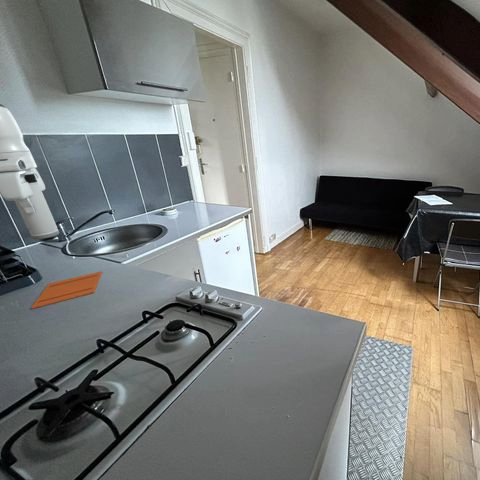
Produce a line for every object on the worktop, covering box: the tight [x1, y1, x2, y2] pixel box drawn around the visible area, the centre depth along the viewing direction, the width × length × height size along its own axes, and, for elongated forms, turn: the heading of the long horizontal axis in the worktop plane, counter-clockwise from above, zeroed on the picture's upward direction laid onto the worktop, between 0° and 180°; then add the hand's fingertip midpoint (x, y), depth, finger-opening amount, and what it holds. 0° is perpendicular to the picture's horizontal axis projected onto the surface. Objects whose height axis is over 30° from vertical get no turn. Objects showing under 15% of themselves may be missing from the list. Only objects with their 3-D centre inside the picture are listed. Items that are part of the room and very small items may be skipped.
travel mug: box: [14, 174, 60, 240], centre depth 79 cm, size 6×7×20 cm
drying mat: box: [30, 270, 103, 310], centre depth 82 cm, size 14×16×1 cm
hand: (35, 209), depth 80 cm, fingers closed on travel mug, 6 cm apart
